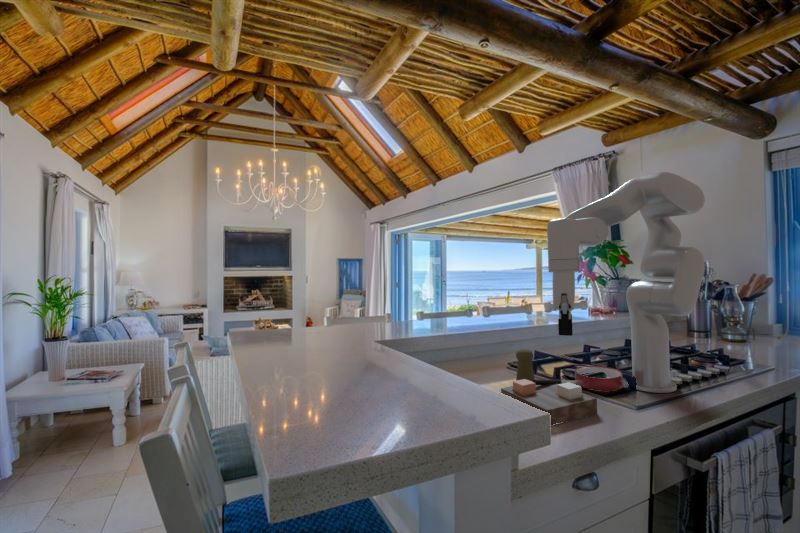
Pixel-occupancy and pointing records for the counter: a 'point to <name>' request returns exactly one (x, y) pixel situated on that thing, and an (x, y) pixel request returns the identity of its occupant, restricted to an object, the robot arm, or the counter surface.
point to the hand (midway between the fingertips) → (565, 331)
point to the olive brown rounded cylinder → (524, 365)
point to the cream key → (569, 390)
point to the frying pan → (591, 379)
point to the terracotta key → (524, 387)
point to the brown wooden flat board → (556, 403)
